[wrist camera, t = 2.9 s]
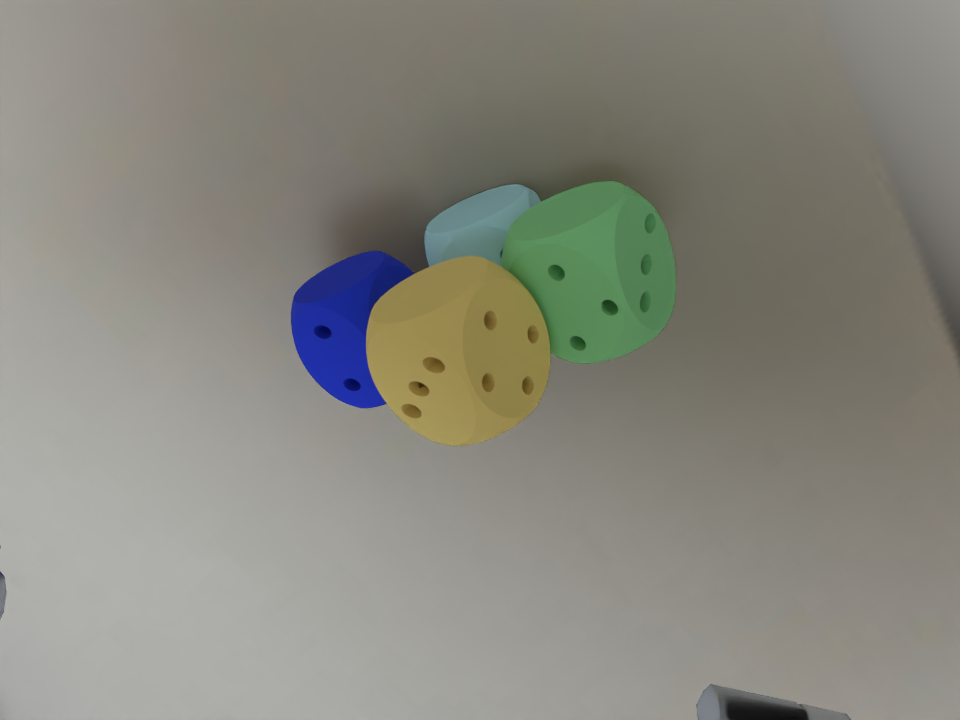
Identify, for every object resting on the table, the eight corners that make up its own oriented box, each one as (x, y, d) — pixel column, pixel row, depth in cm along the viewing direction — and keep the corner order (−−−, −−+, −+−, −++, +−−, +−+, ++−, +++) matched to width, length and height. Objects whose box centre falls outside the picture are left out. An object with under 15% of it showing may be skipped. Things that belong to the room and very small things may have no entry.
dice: (364, 346, 22) (280, 511, 17) (315, 253, 21) (206, 397, 16) (680, 242, 20) (703, 395, 14) (642, 131, 19) (651, 250, 13)
